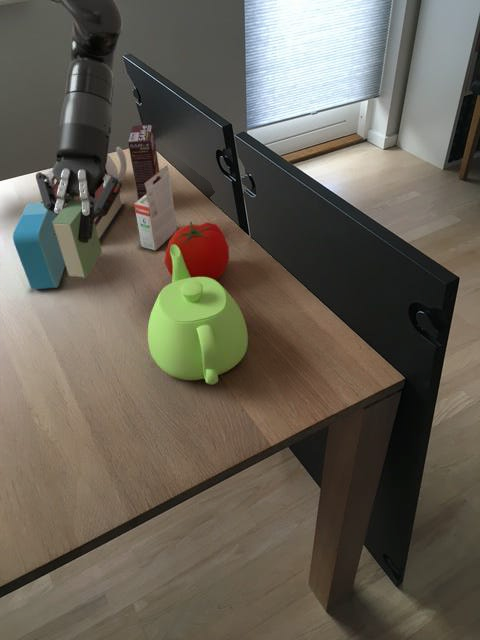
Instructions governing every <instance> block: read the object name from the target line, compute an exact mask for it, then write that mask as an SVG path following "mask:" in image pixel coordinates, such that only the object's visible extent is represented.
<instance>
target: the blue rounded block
mask: <svg viewBox="0 0 480 640" xmlns="http://www.w3.org/2000/svg"><path fill="white" fill-rule="evenodd" d="M54 219H55V214H54V212H52V211H50V210H48V209H46V208H45V207H44V204H43V203H41V202H32V203H31V202H30V203H27V204H26V206H25V208H24V209H23V212H22V214H21V216H20V218H19V220H18V222H17V224H16V226H15V228H14V231H13V234H12V240H13V241H12V242H13V245H14V246H15V250H16V253H17V256H18V258H19V260H20V263H21V266H22V269H23V271H24V273H25V276H26V279H27V282H28V284H29V287H30V288H31V289H32V290H42V289H53V288H54V289H56V288H58V287H59V286H60V283H61V279H62V276H63V273H64V270H65V268H66V266H65V263H64V259H63V256H62V253H61V250H60V246H59V243H58V240H57V239H56V235H54V232H53V230H54V227H53V224H52V222H53V221H54Z"/></svg>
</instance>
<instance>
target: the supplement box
mask: <svg viewBox="0 0 480 640" xmlns="http://www.w3.org/2000/svg"><path fill="white" fill-rule="evenodd" d="M130 130H131V131H130V135H129V138H128V143H127V145H128V149H129V155H130V161H131V162H130V163H131V166H132V167H131V168H132V172H133V177H134V183H135V190H136V196H137V201H138V200H139V199H141V198H142V197H143V196H144V195H146V189H145V184H144V183H145V182H146V181H148V180H149V179H150V178H151V177H153V176H154V175H155V174H156V173H158V172H159V171H160V166H159V159H158V152H157V144H156V138H155V130H154V125H153V124H139V125H132V126H131V128H130ZM159 179H161V175H160V176H157V178H156V180H154V181H153V184H154V183H156V182H157V181H158V180H159Z"/></svg>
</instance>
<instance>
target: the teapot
mask: <svg viewBox="0 0 480 640" xmlns="http://www.w3.org/2000/svg"><path fill="white" fill-rule="evenodd" d="M170 253H171V257H172V263H173V274H172V276H171V282H170V283H168V284H167V285H165V286H164V287H163V288H162V289H161V291H160V293H159V294H158V296H157V298H156V299H155V302H154V304H153V307H152V309H151V312H150V315H149V320H148V323H147V324H148V326H147V344H148V348H149V353H150V355H151V357H152V359H153V361H154V362H155V364H157V366H158V367H159V369H161V370H162V371H164V372H165V373H166V374H167V375H169V376H171V377H174V378H176V379H179V380H182V381H199V380H205V383H206V384H208V385H215V384H217V383H218V382H219V376H220V375H222V374H224V373H226V372H228V371H230V370H231V369H233V368H234V367H235V366H236V365H238V364H239V363H240V362H241V361H242V359H243V358H244V356H245V355H246V352H247V350H248V345H249V344H248V343H249V335H248V328H247V324H246V321H245V318H244V315H243V312H242V310H241V309H240V307H239V305H238V303H237V302H236V301H235V299H234V298H233V297H232V296H231V294H230V293H229V291H227V290H226V289H225V287H224V286H222V284H220V282H218V281H217V280H214V279H211V278H208V277H192V278H191V277H190V275H189V272H188V270H187V268H186V265H185V263H184V260H183V257H182V254H181V251H180V249H179V248H178V246H177V245H175V244H173V245H171V246H170Z"/></svg>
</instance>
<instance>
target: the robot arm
mask: <svg viewBox="0 0 480 640" xmlns="http://www.w3.org/2000/svg"><path fill="white" fill-rule="evenodd" d="M48 2H50V3H52V4H54V5H62V6H63V7H64V8H65V9H66V10H67V12H69V14H70V15H71V17H72V18H73V22H72V28H71V36H70V54H69V67H68V70H67V74H66V83H65V90H64V91H65V92H64V100H63V102H62V106H61V109H60V110H61V112H60V118H59V126H58V136H57V143H56V145H57V146H56V162H55V164H54V165H53V167H52V170H51V171H48V172H45V173H43V172H40V171H39V172H37V173H36V174H35V179H36V183H37V186H38V190H39V194H40V196H41V200H42V201H43V204H44V207H45V208H46V209H48V210H50V211H52V212H54V214H55V218H56V217H57V216H58V214H59V213H60V212H61V211H62V209H63V208H64V207H65V206H66V204H67V203H68V202H70V201H71V200H72V199H75V197H76V196H80V199H81V201H82V213H83V216H81V218H80V226H79V235H78V240H79V241H81V242H83V243H88V241H89V239H91V237H92V232H93V224H94V219H95V218H96V217H99V216H106V215H107V213H108V211H109V210H110V208H111V206H112V204H113V202H114V201H115V199H116V197H117V195H118V193H119V191H120V192H121V189H122V188H123V183H122V182H121V181H119V180H118V179H117V178H115V177H111V176H109V175H108V174H107V171H106V163H107V155H109V146H110V137H111V136H110V135H111V133H112V104H113V95H114V85H115V84H114V81H115V79H114V73H113V67H114V60H115V54H116V49H117V44H118V42H119V39H120V35H121V33H122V29H123V21H124V20H123V16H122V12H121V10H120V7H119V6H118V3H117V2H116V1H115V0H48ZM55 181H56V182H58V184H59V188H58V192H57V200H56V197H55V193H54V190H53V187H54V186H55V183H56V182H55ZM103 183H104V185H103V186H104V190H103V191H102V193H101V195H100V197H99V199H98V201H97V196H96V191H97V190H98V189H99V187H100V186H101V185H102V184H103ZM42 201H41V202H42ZM53 232H54V235H56V234H55V230H53ZM56 239H57V237H56Z"/></svg>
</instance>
